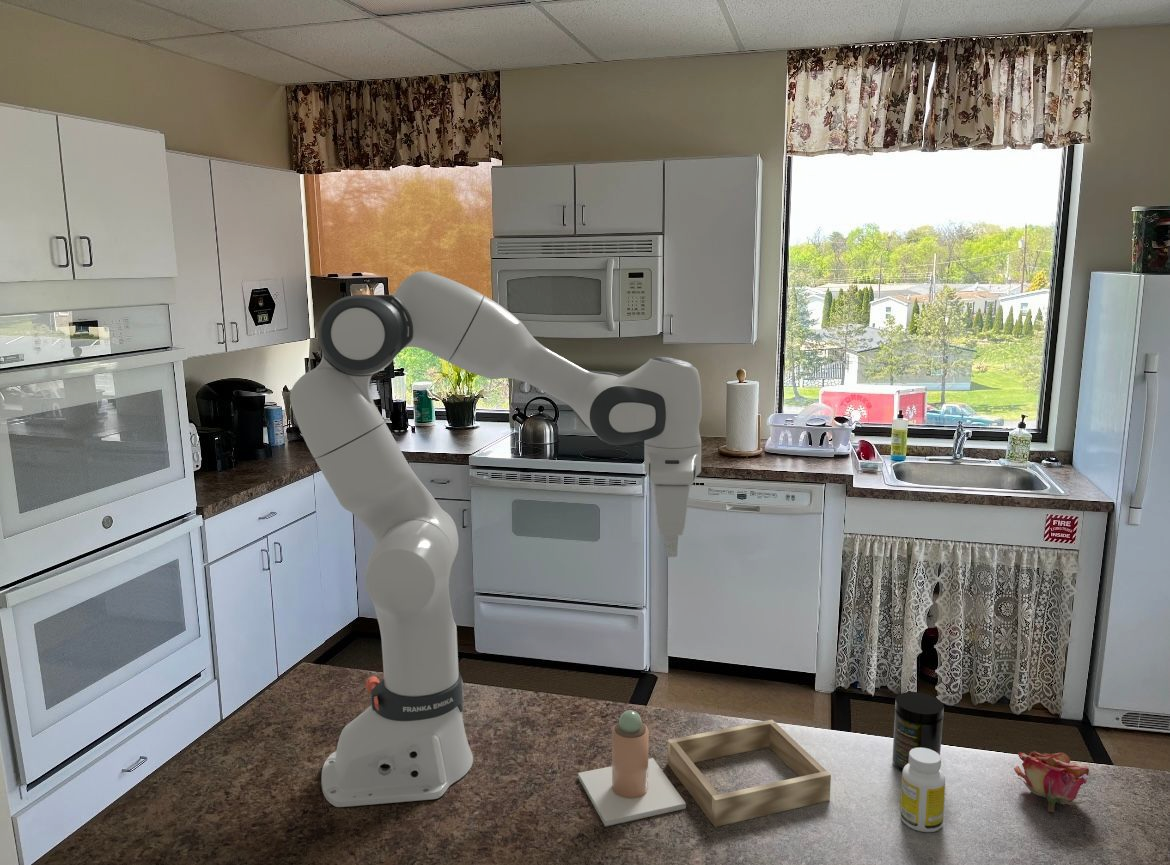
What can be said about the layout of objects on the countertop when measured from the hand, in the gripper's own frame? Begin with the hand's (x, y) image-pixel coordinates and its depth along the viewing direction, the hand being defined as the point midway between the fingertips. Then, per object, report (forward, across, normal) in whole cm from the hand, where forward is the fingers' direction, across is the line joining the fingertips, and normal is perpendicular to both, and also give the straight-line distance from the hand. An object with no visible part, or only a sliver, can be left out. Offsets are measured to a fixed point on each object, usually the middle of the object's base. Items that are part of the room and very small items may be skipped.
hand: (672, 546), depth 135 cm
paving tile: (+31, +19, -5) cm, 37 cm away
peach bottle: (+30, +19, -6) cm, 36 cm away
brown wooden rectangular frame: (+31, +15, +11) cm, 36 cm away
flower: (+31, +15, +53) cm, 64 cm away
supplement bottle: (+31, +22, +34) cm, 51 cm away
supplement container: (+31, +8, +37) cm, 49 cm away
